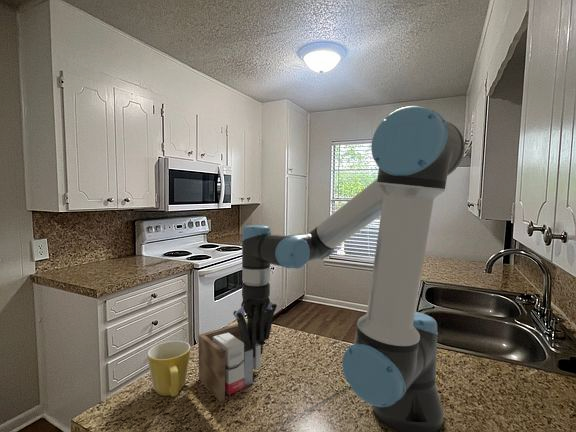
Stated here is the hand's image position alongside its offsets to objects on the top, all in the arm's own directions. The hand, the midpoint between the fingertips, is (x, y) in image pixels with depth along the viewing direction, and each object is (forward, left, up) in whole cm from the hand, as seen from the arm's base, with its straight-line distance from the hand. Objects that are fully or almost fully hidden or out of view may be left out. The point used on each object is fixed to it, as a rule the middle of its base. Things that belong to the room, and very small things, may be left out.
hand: (255, 366), depth 87 cm
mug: (+7, +21, -3) cm, 22 cm away
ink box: (0, +9, -2) cm, 9 cm away
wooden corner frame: (0, +5, -3) cm, 5 cm away
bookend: (0, +5, -1) cm, 5 cm away
